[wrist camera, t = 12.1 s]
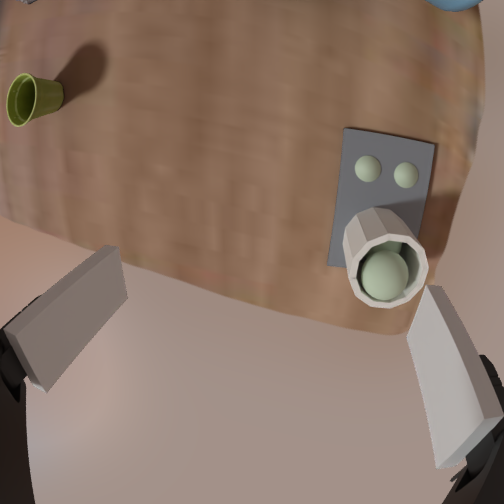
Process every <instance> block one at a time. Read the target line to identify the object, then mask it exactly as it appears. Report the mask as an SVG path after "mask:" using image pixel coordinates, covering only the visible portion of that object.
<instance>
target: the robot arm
mask: <svg viewBox="0 0 504 504" xmlns="http://www.w3.org/2000/svg"><path fill="white" fill-rule="evenodd" d="M425 1H427V2H429V3H431V4H432V5H434V6H436V7H437V8H439V9H442V10H444V11H452V12H459V11H463V10H466V9H469V8H471V7H473V6H475V5H477V4H478V3H480V2H481V1H483V0H425ZM127 299H128V297H127V291H126V286H125V281H124V276H123V270H122V264H121V258H120V251H119V247H117V246H110V245H105V246H104V247H102V248H101V249H100V250H98V251H97V252H96V253H94V254H93V255H92V256H90V257H89V258H88V259H86V260H85V261H84V262H82V263H81V264H80V265H78V266H77V267H76V268H75V269H73V270H72V271H71V272H70V273H68V274H67V275H66V276H64V277H63V278H62V279H61V280H59V281H58V282H57V283H56V284H55V285H53V286H52V287H51V288H50V289H49V290H47V291H46V292H45V293H44V294H42V295H40V296H38V297H36V298H35V299H34V300H33V301H32V302H30V303H29V304H28V306H26V307H25V308H23V310H22V312H19V313H18V314H17V315H15V316H14V317H13V318H12V319H11V320H10V321H9V322H8V323H6V324H5V325H4V326H3V327H2V328H1V329H0V504H35V500H34V494H33V488H32V482H31V475H30V467H29V457H28V448H27V447H28V446H27V430H26V384H25V382H24V380H23V379H24V378H25V377H26V376H28V378H29V379H30V381H31V383H32V384H33V386H34V387H36V388H38V389H39V390H41V391H43V392H45V393H47V392H48V391H49V390H50V388H51V387H52V386H53V385H54V383H55V382H56V381H57V380H58V379H59V377H60V376H61V375H62V374H63V372H64V371H65V370H66V369H67V368H68V366H69V365H70V364H71V363H72V362H73V360H74V359H75V358H76V357H77V356H78V354H79V353H80V352H81V351H82V350H83V349H84V347H85V346H86V345H87V344H88V342H89V341H90V340H91V339H92V338H93V337H94V335H96V333H97V332H98V331H99V330H100V329H101V327H103V325H104V324H105V323H106V322H107V321H108V320H109V319H110V317H111V316H112V315H113V314H114V313H115V312H116V311H117V310H118V309H119V307H120V306H121V305H122V304H123V303H124V302H125V301H126V300H127ZM406 338H407V341H408V344H409V348H410V351H411V355H412V358H413V361H414V365H415V369H416V373H417V377H418V380H419V384H420V388H421V392H422V397H423V401H424V405H425V410H426V414H427V419H428V424H429V429H430V434H431V440H432V445H433V451H434V457H435V463H436V469H440V468H446V467H453V466H456V465H457V464H458V463H459V462H460V461H461V460H463V459H464V458H465V457H466V461H467V465H466V466H465V467H464V468H463V469H462V470H461V471H459V472H458V473H457V474H456V475H455V476H453V478H452V479H451V480H450V481H451V482H453V481H454V480H455V479H456V478H457V480H456V482H455V484H454V485H453V487H452V489H451V490H450V492H449V494H448V495H447V497H446V498H445V500H444V502H443V503H442V504H504V387H503V386H502V382H501V380H500V378H498V374H497V372H496V370H495V367H494V365H493V364H492V363H491V362H490V361H489V359H488V358H487V357H486V356H485V355H478V352H477V350H476V349H475V347H474V344H473V342H472V340H471V339H470V336H469V334H468V333H467V331H466V329H465V327H464V325H463V323H462V321H461V319H460V318H459V316H458V314H457V312H456V310H455V308H454V307H453V305H452V303H451V302H450V300H449V298H448V296H447V295H446V293H445V291H444V290H443V288H442V286H435V285H426V286H425V289H424V292H423V295H422V298H421V301H420V304H419V306H418V309H417V312H416V314H415V317H414V320H413V322H412V325H411V327H410V330H409V332H408V335H407V337H406Z"/></svg>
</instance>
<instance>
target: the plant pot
mask: <svg viewBox="0 0 504 504" xmlns="http://www.w3.org/2000/svg"><path fill="white" fill-rule="evenodd" d="M63 98H64V94H63V86H62V85H61V83H59V82H57V81H52V80H45V79H40V78H36V77H34V76H32V75H31V74H29V73H23V74H20V75H19V76H17V77H16V78H15V80H14V81H13V83H12V84H11V86H10V89H9V92H8V95H7V103H6V106H7V107H6V108H7V114H8V118H9V120H10V122H11V123H12V124H13V125H14V126H16V127H21V126H24V125H25V124H27V123H28V122H29V121H31V120H32V119H35V118H38V117H41V116H44V115H47V114H50V113H53V112H55V111H57V110H58V109H59V108H60V106H61V104H62V102H63Z"/></svg>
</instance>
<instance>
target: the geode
mask: <svg viewBox="0 0 504 504" xmlns="http://www.w3.org/2000/svg"><path fill="white" fill-rule="evenodd" d="M16 1H22V2H23V3H26V4H31V3H33V2H34V1H36V0H16Z"/></svg>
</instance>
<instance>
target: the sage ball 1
mask: <svg viewBox="0 0 504 504" xmlns="http://www.w3.org/2000/svg"><path fill="white" fill-rule="evenodd" d="M401 248H402V242H397V241H390V240H389V241H386V242H384V243H381V244H379V245H376V246H373V247H371V248H370V250H369V251H368V252H367V253H366V254H365V255H364V256H365V257H366V258H368V257H369V256H370V255H372V254H373V253H375V252H377V251H381V250H389V251H393V252H395V253H397V254H399V253H400V251H401Z"/></svg>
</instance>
